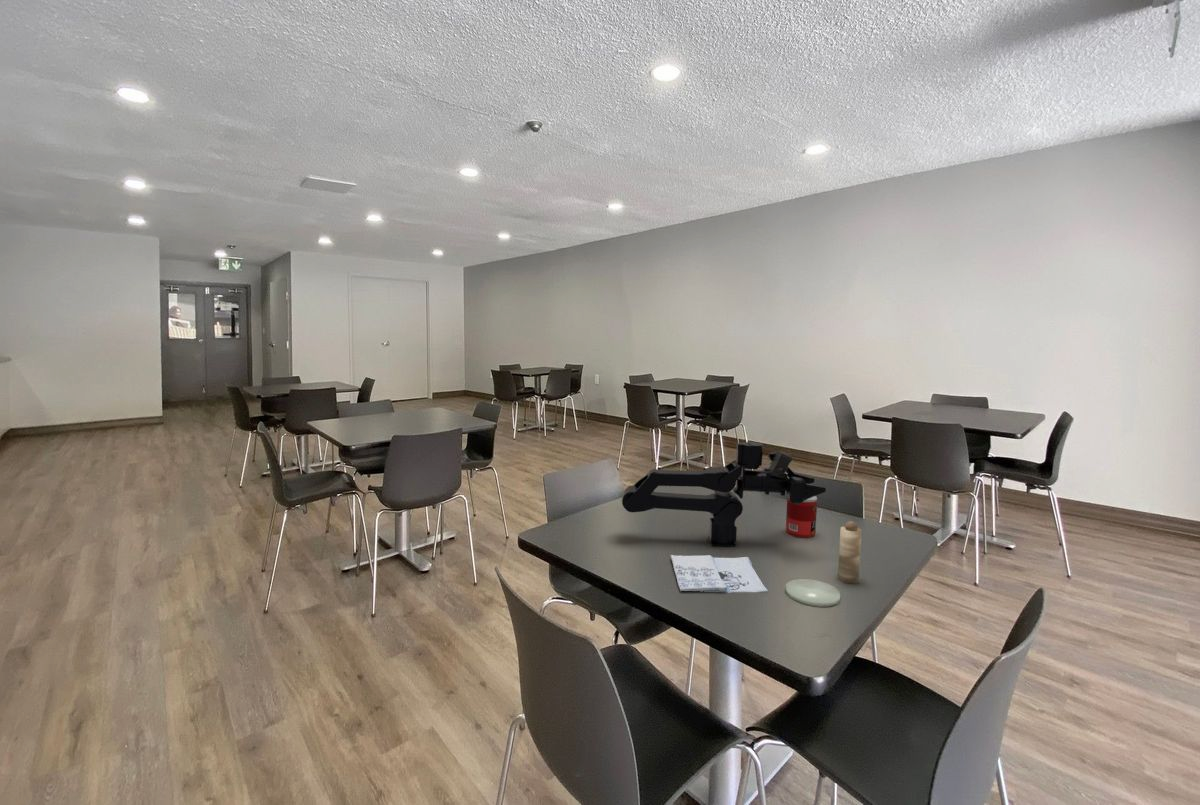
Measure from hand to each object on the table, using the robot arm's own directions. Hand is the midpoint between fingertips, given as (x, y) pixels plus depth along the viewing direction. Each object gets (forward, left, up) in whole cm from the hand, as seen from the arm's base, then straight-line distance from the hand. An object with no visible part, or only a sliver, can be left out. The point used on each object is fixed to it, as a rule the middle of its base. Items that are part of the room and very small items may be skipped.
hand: (819, 485), depth 144 cm
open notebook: (-30, -20, -18) cm, 40 cm away
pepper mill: (0, -21, -17) cm, 27 cm away
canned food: (-1, +9, -17) cm, 19 cm away
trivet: (-11, -29, -17) cm, 35 cm away
